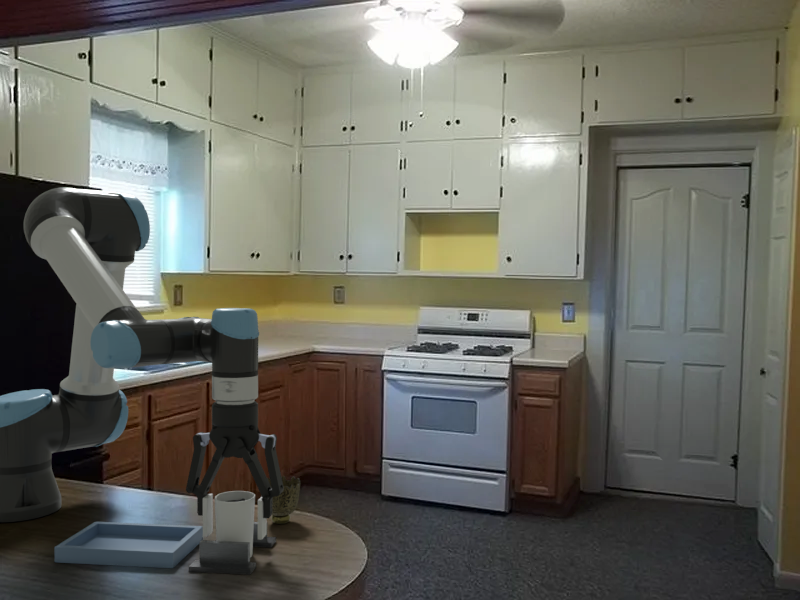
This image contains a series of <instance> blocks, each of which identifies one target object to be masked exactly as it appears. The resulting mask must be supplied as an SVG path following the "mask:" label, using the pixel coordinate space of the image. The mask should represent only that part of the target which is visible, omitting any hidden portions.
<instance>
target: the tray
mask: <svg viewBox="0 0 800 600" xmlns="http://www.w3.org/2000/svg"><path fill="white" fill-rule="evenodd" d="M201 540H204V537H203V525H185V524H184V525H181V524H180V525H179V524H164V523H163V524H159V523H158V524H157V523H138V522H137V523H136V522H117V521H116V522H115V521H114V522H113V521H111V522H110V521H94V522H92V523H91V524H89V525H87V526H86V527H85V528H82V529H80V530H79V531H78V532H76V533H75V534H73V535H71V536H70V537H68V538H67V539H64V541H62V542H60V543H58V544H57V545H56V546H54V563H62V564H64V563H65V564H82V565H98V566H99V565H100V566H101V565H103V566H121V567H122V566H123V567H124V566H125V567H140V568H141V567H142V568H159V569H161V568H162V569H174V568H175V567H176V566H177V565H178V564H179V563H180V562H182V560H183V559H185V558H186V557H187V556H188V555H189V554H190V553H191V552H192V551H194V550H195V548H196V547H198V545H199V542H200V541H201Z"/></svg>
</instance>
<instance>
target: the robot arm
mask: <svg viewBox="0 0 800 600" xmlns="http://www.w3.org/2000/svg"><path fill="white" fill-rule="evenodd" d="M150 226H151V225H150V218H149V215H148V212H147V210H146V209H145V205H144V204H143V202H142V201H141V200H140V199H139V198H138V197H137V196H135V195H133V194H132V195H131V194H129V193H128V194H127V193H122V192H118V191H110V190H109V191H108V190H107V191H106V190H97V189H85V188H84V189H83V188H75V187H74V188H73V187H67V186H65V187H63V186H62V187H55V188H51V189H49V190H46V191H44V192H43V193H41V194H39V195H38V196H36V197H35V198H34V199H33V200H32V202H31V203H30V204H29V206H28V208H27V210H26V212H25V215H24V219H23V233H24V235H25V236H24V237H25V239H26V242H27V243H28V245H29V247H30V248H31V250H32V252H34V254H35V255H36V256H37V257H39V258H41V259H44V260H46V261H47V262H48V264H49V266H50V267H51V269H52V270H53V272H54V273H55V275H57V277H58V279H59V280H60V282H61V283H62V285H63V286H64V287H65V289H66V290H67V293H68V294H69V295H70V296H71V297H72V300H73V301H74V302H75V303H76V305H75V313H74V323H73V324H74V325H73V334H72V342H71V352H70V363H69V372H68V376H66V377H65V378H63V380H61V381H60V383H59V391H58V394H54V395H53V394H52V391H51V390H49V389H45V388H35V389H29V390H27V389H26V390H19V391H14V392H9V393H6V394H2V395H0V523H13V522H22V521H28V520H29V521H30V520H34V519H38V518H42V517H46V516H49V515H51V514H53V513H56V512H58V510H60V509H61V508H62V494H61V492H60V489H59V486H58V483H57V480H56V478H55V475H54V472H53V469H52V468H53V467H52V458H53V455H52V454H54V453H61V452H66V451H72V450H73V451H74V450H77V449H83V448H84V449H85V448H91V447H94V448H97V447H99V446H102V445H104V444H105V445H106V444H109V443H113V442H115V441H116V440H117V439H118V438H120V436H121V435H122V434H123V433H124V431H125V429H126V426H127V422H128V418H129V406H128V405H127V404H128V399H127V396H126V395H125V393H124V392H123V391H122V390H120V384H119V383H118V382H117V381H116V380H115V378H114V372H115V371H114V370H115V369H122V370H123V369H131V368H138V367H140V368H141V367H149V366H157V365H168V364H169V365H171V364H180V363H181V364H182V363H184V364H185V363H192V362H202V363H210V364H211V399H212V400H214V402H213V403H212V404H211V430H210V432H204V431H201V432H197V433H196V434H194V435H193V437H192V441H193V451H192V452H193V453H192V458H191V463H190V468H189V472H188V473H189V474H188V477H187V482H186V487H185V491H186V493H188V494H193V495H195V496H196V498H197V500H196V502H197V508H196V509H197V511H196V512H197V516H201V517H202V526H203V538H208V537H209V536H210V535H211V534H212V533H214V532H213V531H214V528H213V527H214V525H213V524H214V505H213V504H214V503H213V502H214V494H213V493H208V492H210V488H211V486H212V485H213V482H214V480H215V478H216V476H217V474H218V472H219V470H220V468H221V466H222V463H223V462H224V459H225V458H227V459H228V458H231V457H234V458H237V459H242V460H243V462H244V463H245V464H246V465H247V467H248V470H249V472H250V473H251V476H252V478H253V481H254V482H255V485H256V487H257V489H258V491H259V494H260V495H261V496H260V498H258V499H257V522H258V540H262V539H263V538H264V537H265V536H266V534H267V535H268V526H267V522H268V521H267V520H268V519H271V517H272V499H273V497H275V496H279V495H280V494H281V493H282V492H283V490H284V487H283V482H282V473H281V467H280V464H279V458H278V453H277V450H276V447H277V440H278V436H277V435H276V434H275V433H273V434H270V435H269V434H263V433H261V432H260V429H259V403H258V402H257V401H256V400H257V399H258V398H259V336H260V332H259V323H258V322H259V320H258V319H259V318H258V313H257V311H256V310H255V309H253V308H246V307H245V308H244V307H243V308H240V307H224V308H223V307H221V308H215V309H214V310H213V311H212V314H211V318H203V317H198V316H184V317H180V318H168V319H166V318H164V319H163V318H162V319H146V318H145V317H144V316H143V314H141V311H139V310H138V309H137V307H136V306H135V305H134V303H133V302H132V300H131V299H130V297H129V296H128V295H127V293H125V290H124V283H125V274H126V269H127V268H128V267H129V266H131V264H133V263H134V262H135V256H136V252H139V251H142V250H143V249H145V247H146V244H148V242H149V239H150V235H151V234H150V233H151V227H150ZM210 442H211V443H212V445H214V447H215V451H214V453H213V455H212V458H211V461H210V462H209V466H208V467H207V470H206V472H205V474H204V475H203V478H202V480H201V482H200V478H201V475H202V470H203V465H204V459H205V456H206V451H207V445H209V443H210ZM259 442H260V443H261V447H262V448H263V449H264V456H265V462H266V465H267V472H268V476H269V477H267V475H266V472H265V471H264V468H263V466H262V464H261V462H260V460H259V457H258V453H257V451H256V448H255V446H256V445H257V444H258V443H259ZM267 478H269V479H270V482H271V486H270V483H269V481H268V479H267ZM271 487H272V488H271Z"/></svg>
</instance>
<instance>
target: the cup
mask: <svg viewBox="0 0 800 600" xmlns="http://www.w3.org/2000/svg"><path fill="white" fill-rule="evenodd" d="M281 477H282V482H283V487H284V490H283V492H282V493H281V494H280V495H279V496H275V497H273V499H272V515H271V517H270V520H271V522H272V523H273V524H276V525H284V524H287V523H289V522H290V520H291V514H292V513H294V512H295V511H296V509H297V507H298V504H299V497H300V493H301V492H300V489H301V480H300V478H299V477H297V478H296V477H295V476H292V477H291V478H290V480H289V479H286V476H285V475H283V476H282V475H281ZM267 479H268V481H269V483H270V486H271V482H270V477H267ZM271 488H272V487H271Z"/></svg>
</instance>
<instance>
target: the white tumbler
mask: <svg viewBox="0 0 800 600" xmlns="http://www.w3.org/2000/svg"><path fill="white" fill-rule="evenodd" d="M255 505H256V494H255V493H254V492H251V491H248V490H247V491H244V490H232V491H231V490H230V491H224V492H221V493H218V494H217V495H215V496H214V515H215V516H214V517H215V540H216V541H231V542H250V558H252V557H253V549H254V547H253V531H254V522H255V508H256V506H255Z"/></svg>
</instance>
